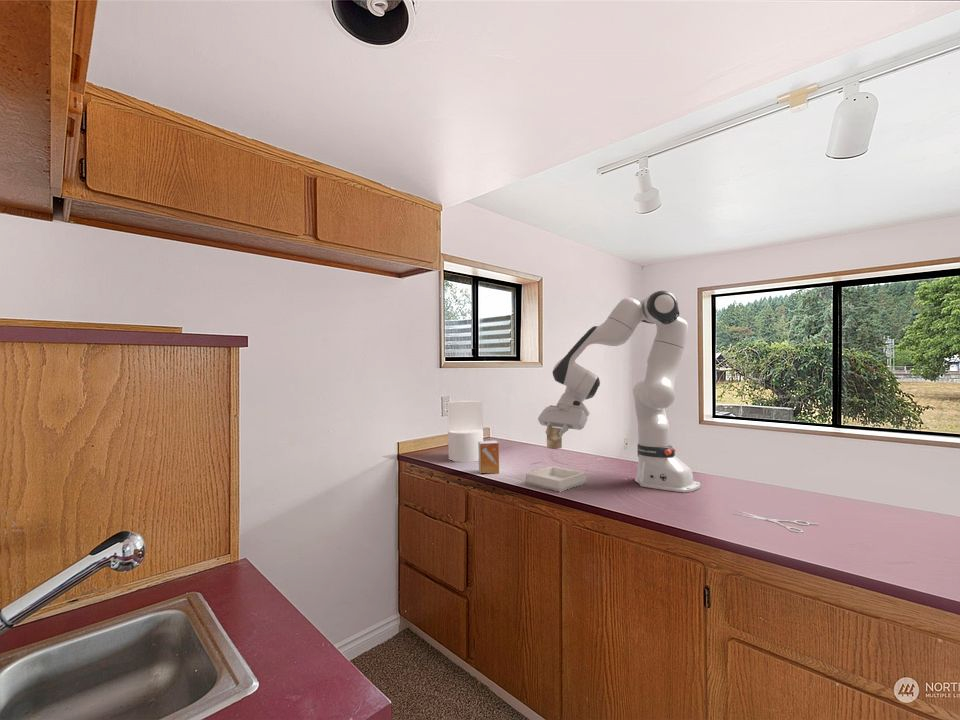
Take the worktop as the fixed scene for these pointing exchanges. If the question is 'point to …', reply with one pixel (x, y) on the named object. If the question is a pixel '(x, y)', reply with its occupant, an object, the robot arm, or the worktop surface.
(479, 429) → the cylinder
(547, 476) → the bin
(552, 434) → the beech block
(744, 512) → the scissors
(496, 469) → the small box
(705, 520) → the worktop surface
